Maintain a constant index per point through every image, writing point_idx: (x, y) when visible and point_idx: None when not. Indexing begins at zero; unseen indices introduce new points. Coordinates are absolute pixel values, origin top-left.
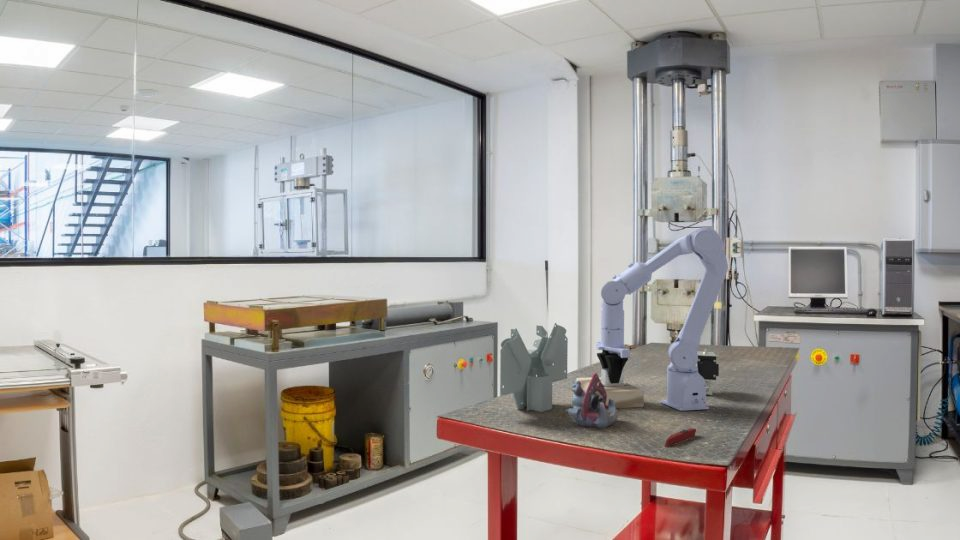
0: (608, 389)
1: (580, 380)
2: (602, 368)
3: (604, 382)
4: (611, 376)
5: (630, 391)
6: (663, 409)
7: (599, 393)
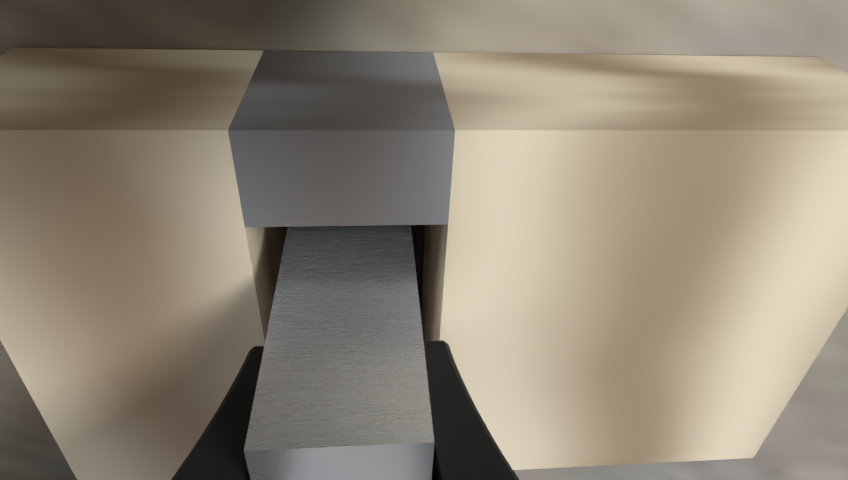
0: (106, 231)
1: (808, 128)
2: (498, 463)
3: (308, 291)
4: (216, 420)
5: (38, 396)
6: (52, 440)
7: (150, 102)
